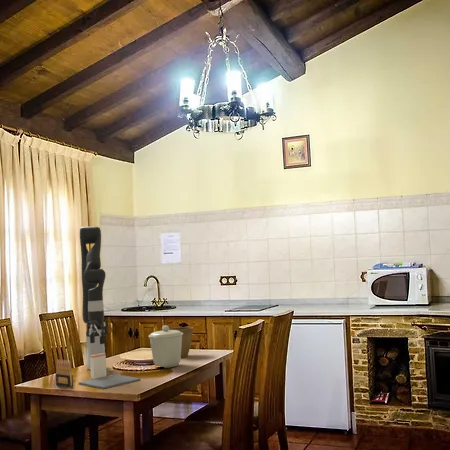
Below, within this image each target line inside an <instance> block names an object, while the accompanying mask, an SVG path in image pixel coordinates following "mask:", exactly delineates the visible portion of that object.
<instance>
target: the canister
mask: <svg viewBox="0 0 450 450" xmlns="http://www.w3.org/2000/svg"><path fill="white" fill-rule="evenodd" d="M161 329H162V330H157V331H153V332H152V333H150V334H148V338H149V342H150V349H151V355H152V360H153V364H154V366H155V367H156V366H160V367H164V368H163V369H169V368H175V367H178V366H179V365H180V363H181V358H182V357H181V345H182V335H183V333H181V332H180V331H177V330H168V329H170V327H169V325H166V324H165V325H162V327H161Z"/></svg>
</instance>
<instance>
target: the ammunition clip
mask: <svg viewBox="0 0 450 450" xmlns="http://www.w3.org/2000/svg"><path fill="white" fill-rule="evenodd" d="M71 363H72V362H71V359H69V360H68V359H63V358H62V359H61V358H56V368H55V370H56V373H55V386H61V387H65V388H66V387H68V388H71V387H74V379H73V378H74V377H73V371H72V364H71Z"/></svg>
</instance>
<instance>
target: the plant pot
mask: <svg viewBox="0 0 450 450" xmlns="http://www.w3.org/2000/svg"><path fill="white" fill-rule="evenodd" d="M168 330H177V331H180V332H181V333H183V335H182V345H181V358H186V357H188V356H189V353H190V349H191V345H192V341H193V335H194V334H193V333H194V331H193V330H194V327H191V326H180V327H178V326H177V327H169V329H168Z"/></svg>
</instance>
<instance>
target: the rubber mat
mask: <svg viewBox="0 0 450 450" xmlns="http://www.w3.org/2000/svg"><path fill="white" fill-rule="evenodd" d="M139 381H141V378H140V377H133V376H128V375H122V374H116V373H114V374H111V375H107V376H105V377H100V378H96V379H92V378H90V379H88V380H83V381H79V382H78V385H82V386H87V387H91V388H95V389H101V390H106V389H110V388H114V387H118V386H122V385H126V384H131V383H134V382H139ZM105 388H106V389H105Z"/></svg>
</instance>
